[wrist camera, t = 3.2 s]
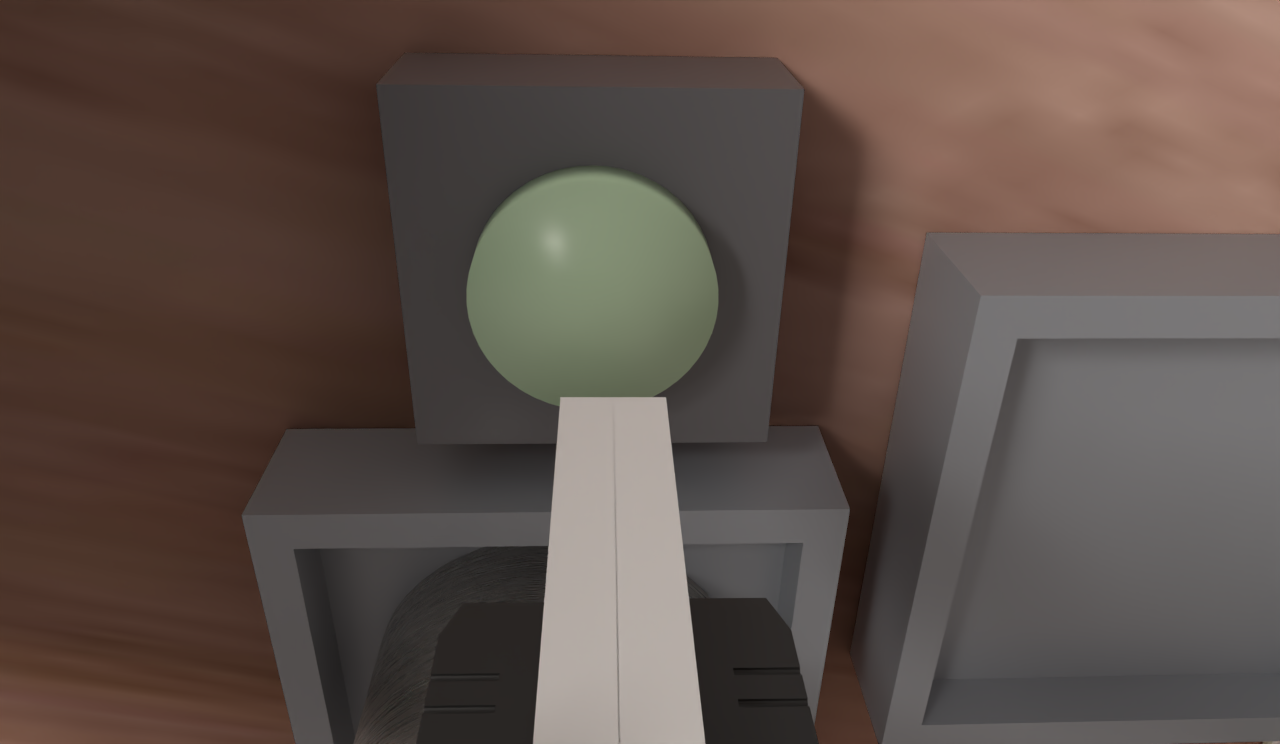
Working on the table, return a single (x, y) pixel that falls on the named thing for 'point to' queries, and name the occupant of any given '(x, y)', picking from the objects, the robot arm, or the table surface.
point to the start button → (589, 237)
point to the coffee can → (1272, 742)
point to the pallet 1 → (508, 541)
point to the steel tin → (423, 617)
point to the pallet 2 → (1081, 496)
